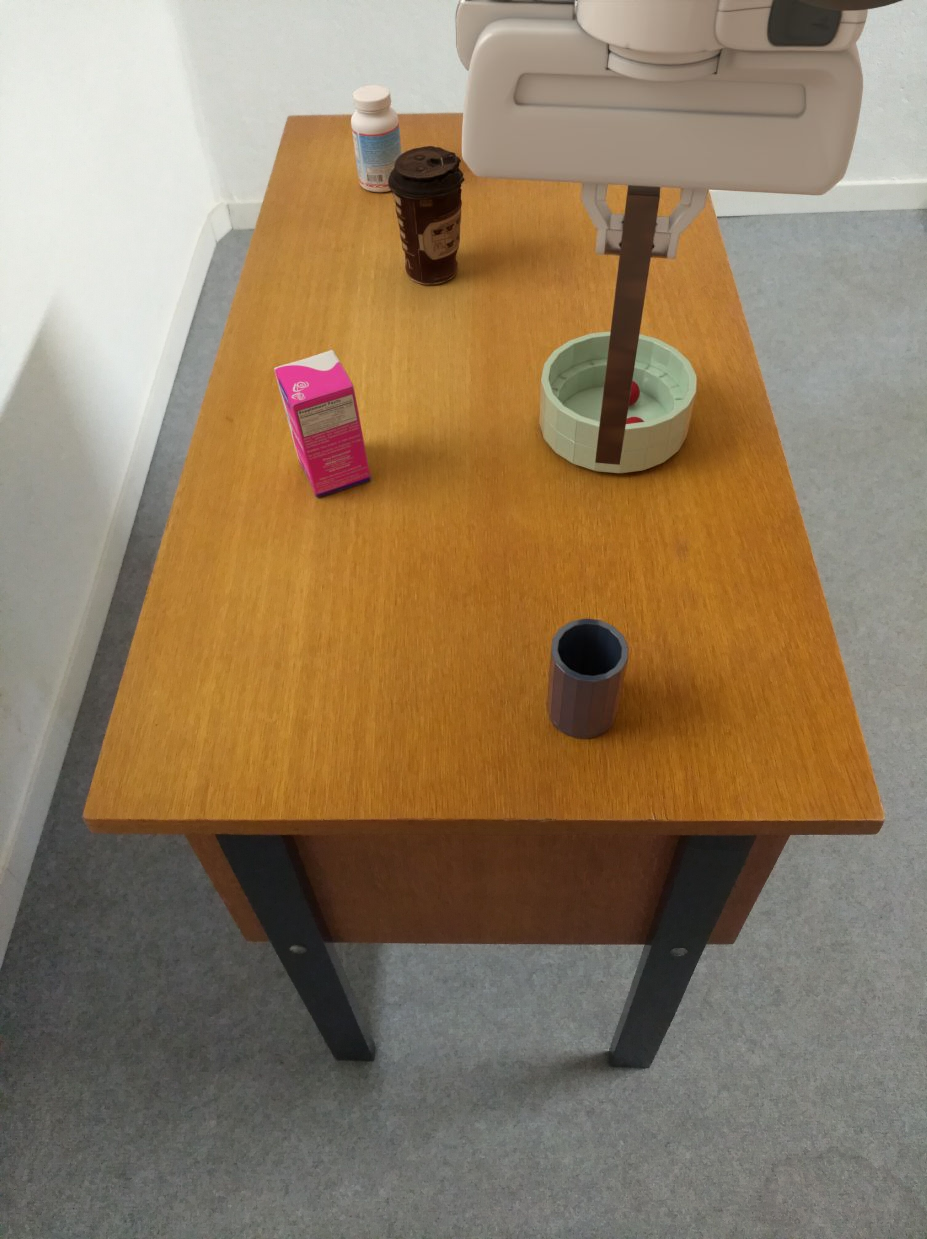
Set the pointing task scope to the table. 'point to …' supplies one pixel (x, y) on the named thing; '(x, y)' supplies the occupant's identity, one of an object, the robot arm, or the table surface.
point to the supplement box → (324, 422)
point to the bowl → (661, 405)
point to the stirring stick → (626, 318)
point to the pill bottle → (375, 136)
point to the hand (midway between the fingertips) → (635, 252)
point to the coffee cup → (428, 211)
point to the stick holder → (586, 677)
